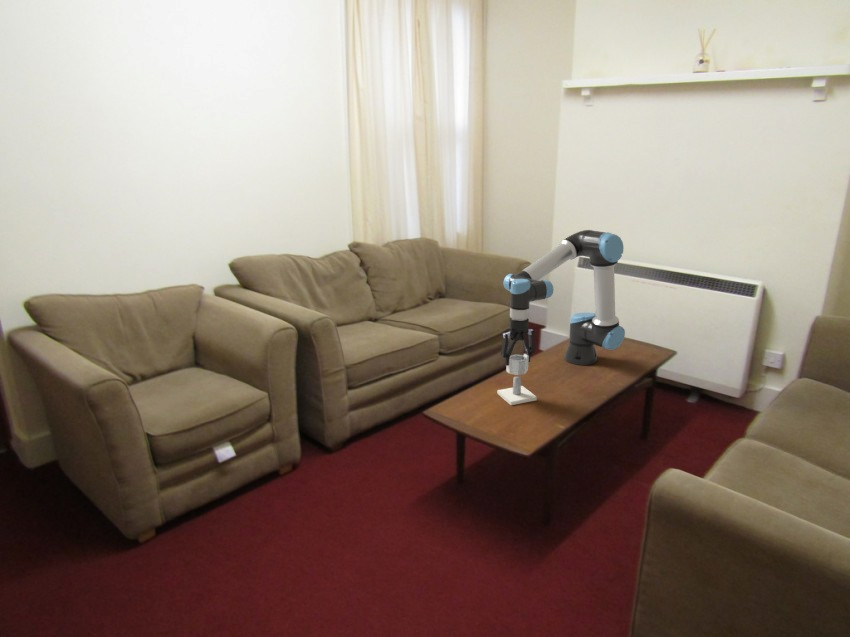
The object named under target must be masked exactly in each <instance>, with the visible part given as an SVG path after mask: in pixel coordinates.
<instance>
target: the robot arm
mask: <svg viewBox="0 0 850 637" xmlns="http://www.w3.org/2000/svg"><path fill="white" fill-rule="evenodd" d="M624 250H625V248H624V242H623V240H622V238H621V236H619V235H617V234H615V233H612V232H607V231H606V232H604V231H598V230H592V229H586V230H585V229H584V230H580V231H577V232H574V233H573V234H571V235H569V236H567V237H565V238H564V239H563V240H561V241H560V242H559V244H558V245H557V246H556V247H555V248H553V249H551V250H550V251H549V252H547V253H546V254H544V255H543V256H541V257H540V258H539V259H538V258H537V260H535V261H534V262H533V263H531V264H530V265H528V266H527V267H525V268H524V269H522V270H520V271H519V272H518V273H517V274H515V273H509V274H507V275H506V276H505V277H504V279H503V287H504V289H505V290H507V291H508V292H510V296H509V297H510V300H509V301H510V303H509V317H510V318H509V325H508V326H509V329H508V332H502V342H501V343H502V344H501V350H500V356H501V357H502V358H504V365H505V367H506V369H505V371H506V373H507V374H510V373H511V360H512V358H510V356H511V355H512V354H513V350H514V347H515V345H516V344H517V343H518V342H517V341H521V344H522V346H523V350H524V352H525V353H523V355H524V356H525V357H527V372H528V371H529V363H530V362H531V356H532V355H533V354H535V352H536V347H535V330H534V329H532V328H529V322H530V321H529V318H530V304H531V302H536V301H541V300H545V299H549V298H551V297H552V296H553V293H554V285H553V283H552V282H551V281H550V280H547V279H543V278H544V277H546V276H547V275H549V274H550V273H552V272H553V271H554V270H556V269H557V268H559V267H561V266H562V265H563V264H565V263H566V262H567V261H572V260H575V259H577V257H578V258H579V257H587V258H589V265H590V266H591V267H592V268H593V285H594V286H593V287H594V288H593V289H594V309H595V310H594V311H595V313H593V312H578V313H574V314H572V315H571V317H570V322H569V338H568V339H569V342H568V345H567V348H566V351H565V352H564V360H565V361H566V362H568V363H570V364H573V365H578V366H588V365H594V364H595V363H596V362H597V360H598V355H597V351H596V348H595V346H597V347H600V348H602V349H606V350H609V351H613V350H616V349H617V348H619V346H621V344H622V343H623V341H624V340H625V336H626V331H625V330H626V329H625V328H624V327H623V326H621V325H620V318H619V317H617V316H616V292H615V291H616V290H615V289H616V288H615V282H616V281H615V267H616V265H617V264H618V262H619V260H620V259H621V258H622V257H623V256H622V255H623V254H624ZM527 336H528V338H527ZM510 375H511V374H510Z"/></svg>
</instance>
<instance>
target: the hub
mask: <svg viewBox="0 0 850 637" xmlns="http://www.w3.org/2000/svg"><path fill="white" fill-rule="evenodd" d="M510 358H512V360H511V373H510V375H514V376H521V375H525V374H526V373H527V372H528V371H527V357H525V356H524V354H518V353H517V354H511V356H510Z"/></svg>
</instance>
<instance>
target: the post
mask: <svg viewBox="0 0 850 637" xmlns="http://www.w3.org/2000/svg"><path fill="white" fill-rule="evenodd" d="M512 379H513V380H512V381H513V383H512V387H507V388H502V389H497V391H496V392H497V395H498V396H500V398H502V399H503V400H504V401H505V402H507V404H509V405H510V406H513V405H519V404H520V405H521V404H524V403H530V402H534V401H538V399H537V398H538V396H536V395H535V394H534V393H533V392H531V391H530V390H528V389H527V388H526V387H525V386H523V385H522V377H521V376H513V378H512Z"/></svg>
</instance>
